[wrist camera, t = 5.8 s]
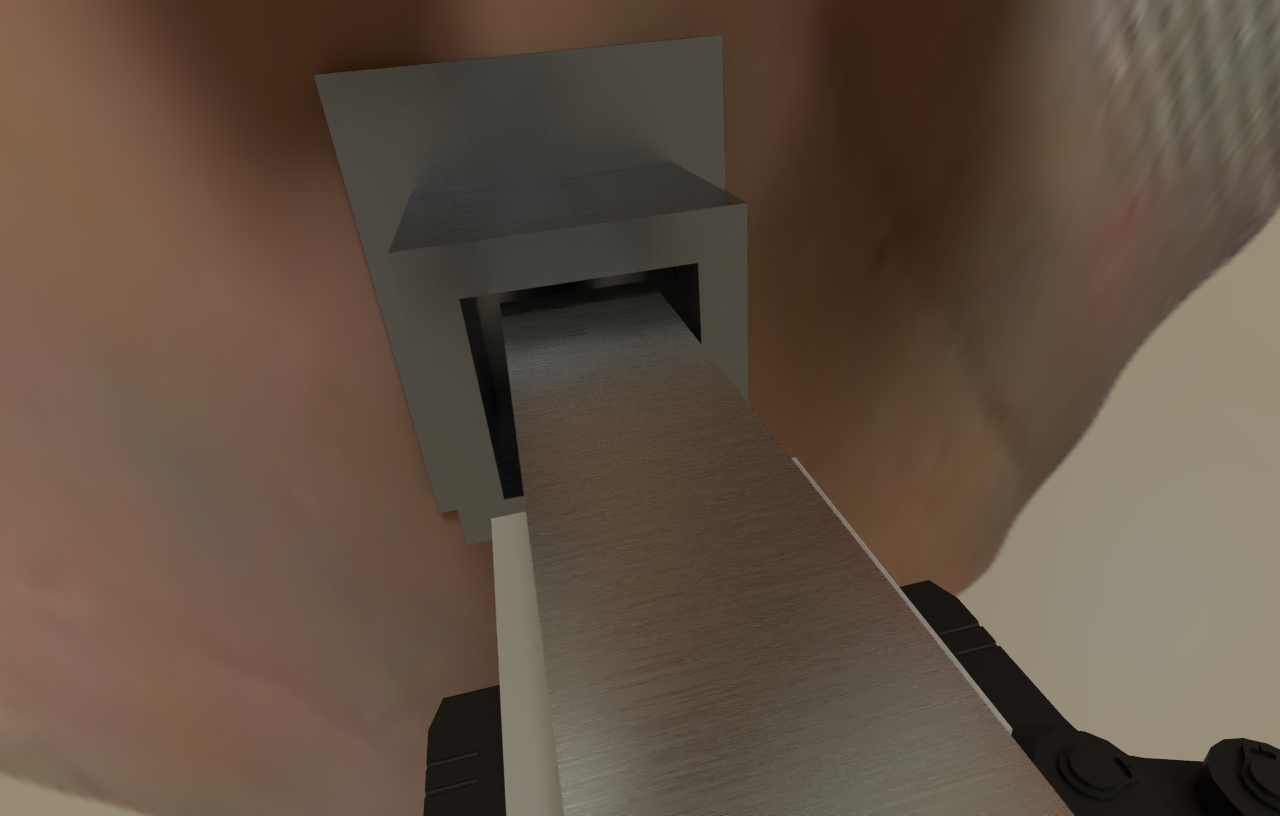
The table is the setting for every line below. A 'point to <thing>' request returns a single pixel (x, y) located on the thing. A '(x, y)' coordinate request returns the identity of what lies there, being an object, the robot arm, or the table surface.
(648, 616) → the column
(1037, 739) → the robot arm
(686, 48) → the stand base
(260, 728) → the table surface
